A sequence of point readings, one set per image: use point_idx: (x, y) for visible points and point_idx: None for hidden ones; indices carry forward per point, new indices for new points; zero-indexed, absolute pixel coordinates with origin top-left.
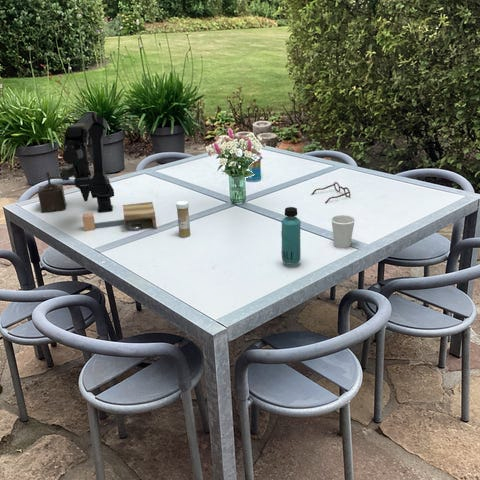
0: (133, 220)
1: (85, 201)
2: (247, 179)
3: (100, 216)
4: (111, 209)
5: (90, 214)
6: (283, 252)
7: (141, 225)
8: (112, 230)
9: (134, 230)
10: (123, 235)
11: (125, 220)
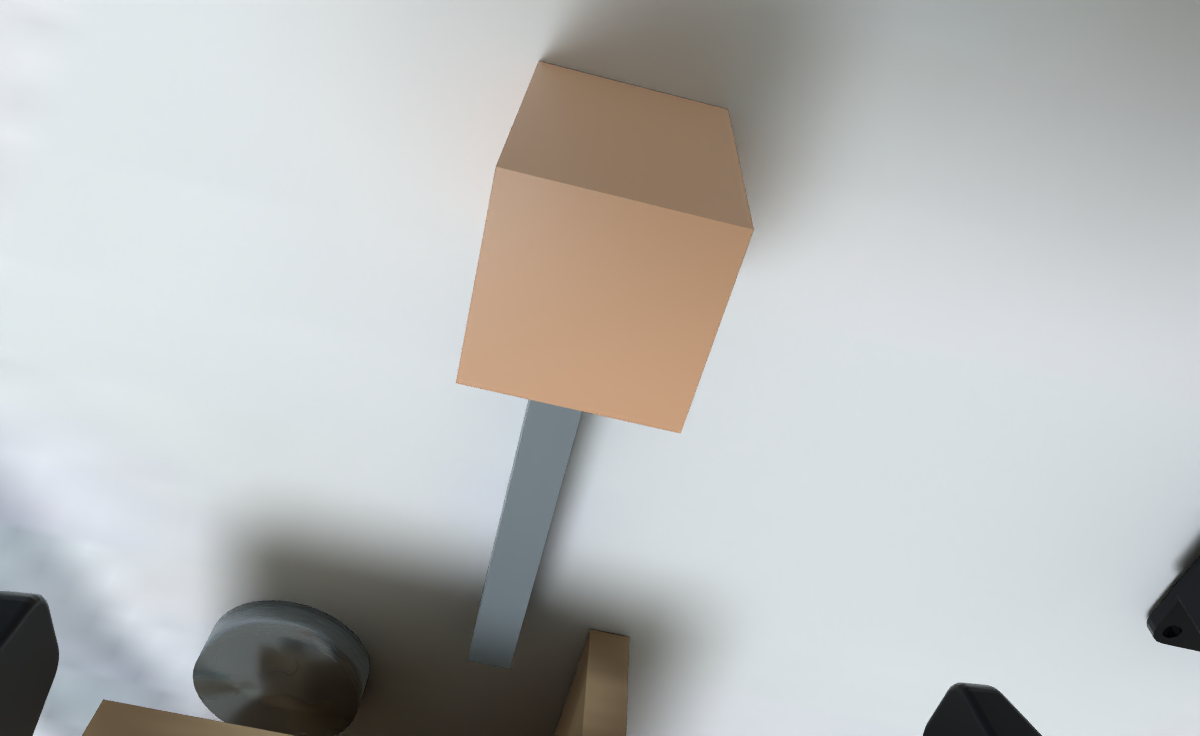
0: (564, 706)
1: (15, 608)
2: None
3: (1075, 444)
4: (1181, 631)
5: (588, 364)
6: None
7: None
8: (355, 439)
9: (210, 634)
10: (107, 501)
11: (588, 651)
